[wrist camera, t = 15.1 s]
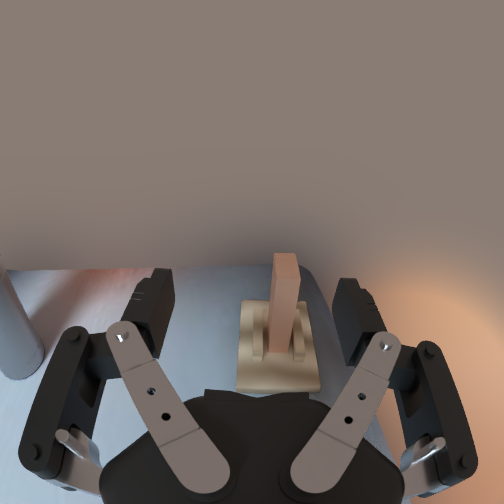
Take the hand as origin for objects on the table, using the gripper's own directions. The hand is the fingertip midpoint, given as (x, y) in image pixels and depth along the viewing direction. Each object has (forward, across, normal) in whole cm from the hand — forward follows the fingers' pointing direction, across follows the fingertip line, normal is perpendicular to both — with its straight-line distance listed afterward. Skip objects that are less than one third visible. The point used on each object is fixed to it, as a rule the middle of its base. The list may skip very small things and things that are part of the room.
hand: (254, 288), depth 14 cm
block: (+15, -4, +21) cm, 26 cm away
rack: (+15, -4, +22) cm, 27 cm away
